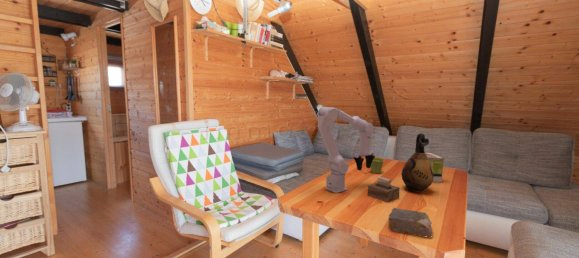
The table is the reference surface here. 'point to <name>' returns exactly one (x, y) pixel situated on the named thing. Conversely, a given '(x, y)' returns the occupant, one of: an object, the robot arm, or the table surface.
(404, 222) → the geological specimen
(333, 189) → the robot arm
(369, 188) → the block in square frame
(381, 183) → the rectangular block end
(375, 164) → the plant pot
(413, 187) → the ceramic jug
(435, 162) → the tea box
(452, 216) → the table surface
